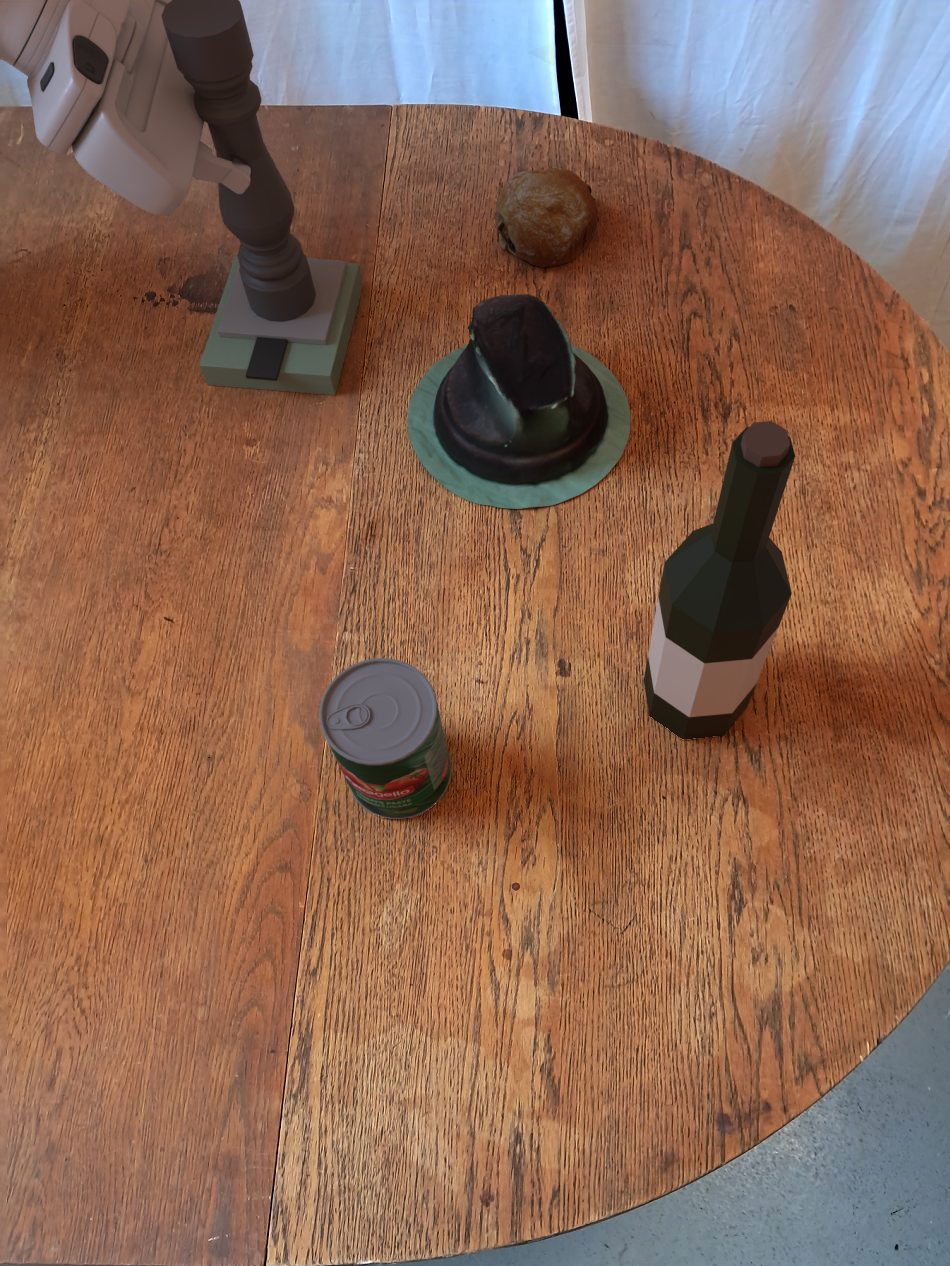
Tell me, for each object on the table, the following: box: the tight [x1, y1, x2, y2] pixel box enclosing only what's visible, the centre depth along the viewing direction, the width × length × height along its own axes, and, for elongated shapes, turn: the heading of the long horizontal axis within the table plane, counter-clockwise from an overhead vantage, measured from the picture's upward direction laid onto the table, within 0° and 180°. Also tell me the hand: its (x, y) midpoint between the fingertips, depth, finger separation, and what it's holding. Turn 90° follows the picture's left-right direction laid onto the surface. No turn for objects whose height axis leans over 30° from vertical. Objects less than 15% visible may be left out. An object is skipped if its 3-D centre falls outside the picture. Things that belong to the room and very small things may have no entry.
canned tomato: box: [318, 657, 453, 820], centre depth 74 cm, size 8×8×11 cm
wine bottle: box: [643, 420, 796, 740], centre depth 68 cm, size 8×8×30 cm
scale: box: [199, 254, 364, 396], centre depth 97 cm, size 12×15×3 cm
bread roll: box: [495, 167, 599, 268], centre depth 102 cm, size 10×10×8 cm
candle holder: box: [161, 0, 316, 321], centre depth 85 cm, size 6×6×25 cm
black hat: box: [407, 293, 632, 510], centre depth 91 cm, size 15×19×20 cm
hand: (251, 159), depth 84 cm, fingers open, 4 cm apart
